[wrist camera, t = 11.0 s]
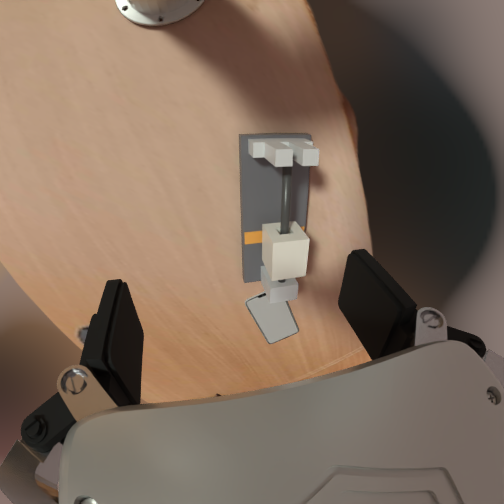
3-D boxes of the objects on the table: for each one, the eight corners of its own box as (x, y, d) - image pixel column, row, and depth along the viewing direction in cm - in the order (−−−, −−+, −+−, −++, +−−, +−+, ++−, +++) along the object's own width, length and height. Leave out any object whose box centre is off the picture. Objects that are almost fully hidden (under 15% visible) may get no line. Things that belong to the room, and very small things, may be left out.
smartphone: (268, 345, 60) (243, 301, 52) (268, 343, 61) (242, 299, 52) (300, 331, 60) (280, 285, 51) (299, 329, 60) (279, 283, 52)
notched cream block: (262, 224, 41) (273, 243, 36) (295, 221, 42) (309, 238, 37) (262, 259, 44) (271, 281, 39) (292, 255, 45) (305, 276, 40)
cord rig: (238, 134, 37) (253, 145, 29) (307, 133, 38) (337, 145, 30) (242, 277, 49) (254, 315, 41) (297, 270, 51) (317, 304, 43)
